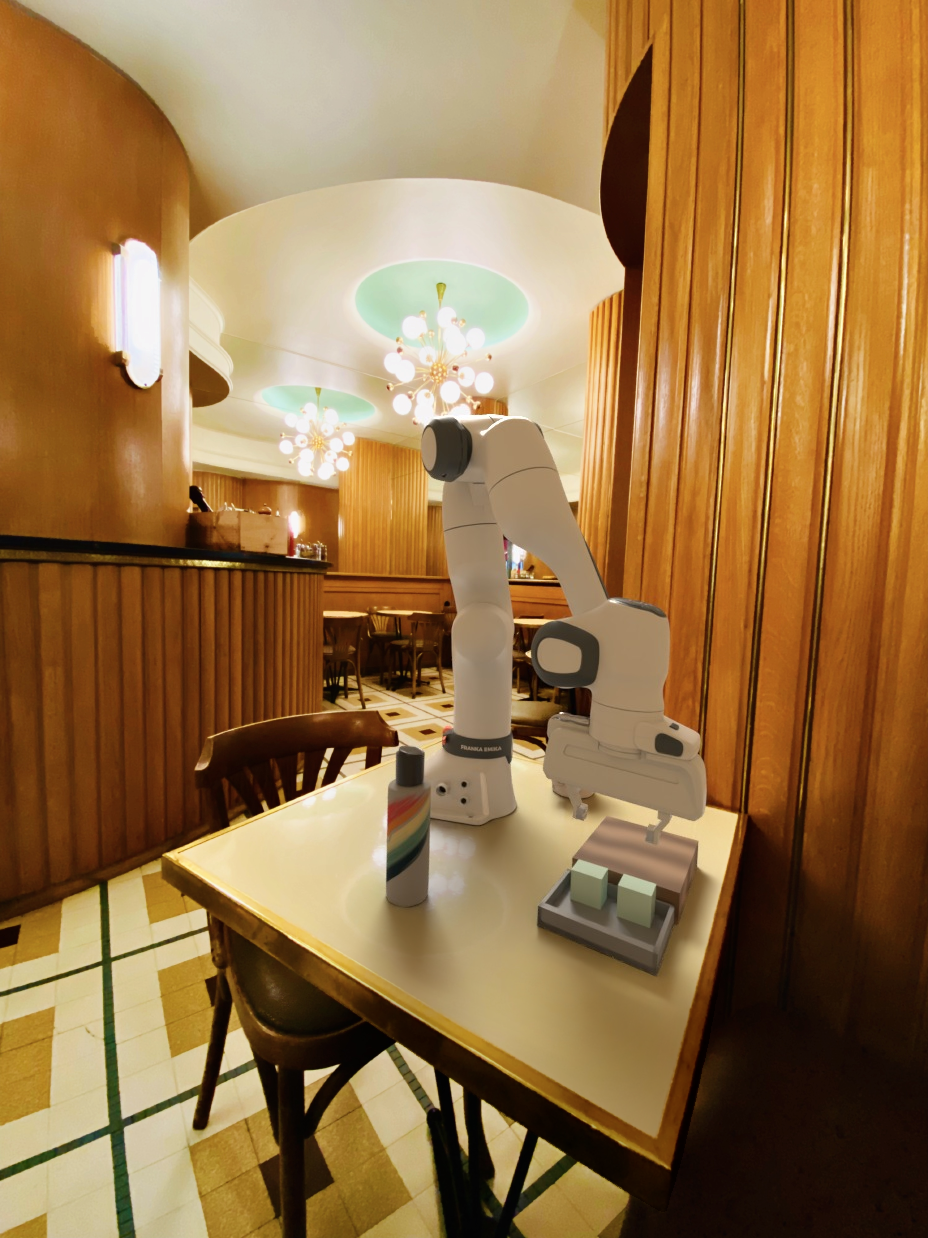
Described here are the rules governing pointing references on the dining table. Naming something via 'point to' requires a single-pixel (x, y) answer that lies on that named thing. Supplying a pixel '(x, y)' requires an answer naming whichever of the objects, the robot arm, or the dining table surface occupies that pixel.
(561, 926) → the charcoal tray
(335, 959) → the dining table surface
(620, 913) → the mint block
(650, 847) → the walnut bench
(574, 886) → the mint block
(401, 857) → the lotion bottle
